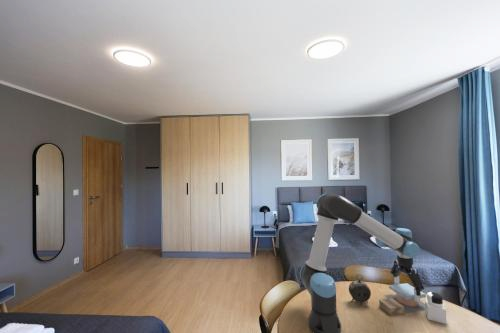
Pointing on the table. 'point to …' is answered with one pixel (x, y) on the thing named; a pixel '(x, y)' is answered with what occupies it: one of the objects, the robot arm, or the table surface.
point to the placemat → (407, 309)
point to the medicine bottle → (435, 307)
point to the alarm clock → (359, 291)
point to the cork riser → (391, 306)
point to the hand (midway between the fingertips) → (406, 294)
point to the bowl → (407, 301)
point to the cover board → (405, 290)
